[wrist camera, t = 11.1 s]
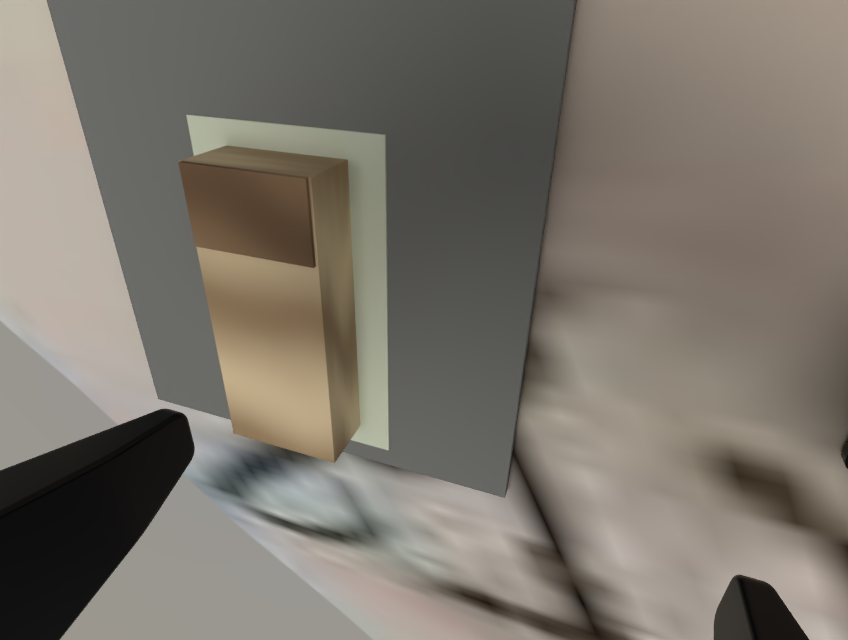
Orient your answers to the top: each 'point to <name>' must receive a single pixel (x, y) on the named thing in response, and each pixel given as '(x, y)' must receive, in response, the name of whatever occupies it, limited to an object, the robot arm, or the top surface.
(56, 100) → the top surface
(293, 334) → the two-tone wooden plank
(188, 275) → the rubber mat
